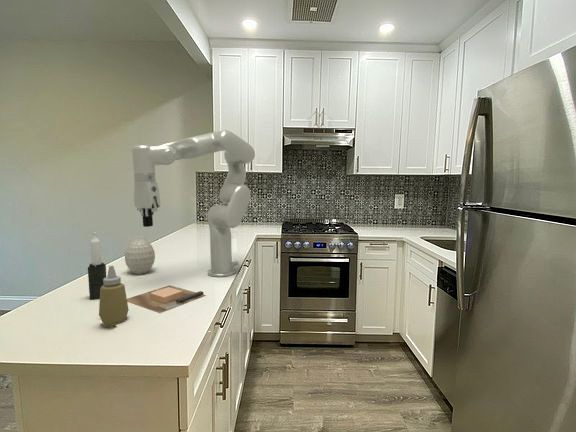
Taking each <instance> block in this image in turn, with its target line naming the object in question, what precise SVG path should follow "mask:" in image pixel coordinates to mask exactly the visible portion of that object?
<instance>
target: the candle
mask: <svg viewBox="0 0 576 432" xmlns="http://www.w3.org/2000/svg"><path fill="white" fill-rule="evenodd" d="M97 236H98V235H97V232H96V231H94V232H93V235H92V239H91V240H90V252H91V254H90V255H91V263H90V264H89V265H88V267H87V277H88V278H87V280H88V291H89V300H91V301H95V300H100V288H101V287H102V286H103V285H104V283H103V279H104V278H106V277H107V266H106V265H107V264H106V263H104V262H102V255H101V253H102V252H101V241H100V239H99V238H98V237H97Z"/></svg>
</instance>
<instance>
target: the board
mask: <svg viewBox="0 0 576 432" xmlns="http://www.w3.org/2000/svg"><path fill="white" fill-rule="evenodd" d="M167 287H170V288H174V289H177V290H181V291H183V297H185V296H188V295H191V294H194V293H196V291H193V290H189V289H184V288H181V287H177V286H174V285H171V284H170V285H167V286H163V287H159V288H157V289H154V290H151V291H147V292H144V293H142V294H138V295H135V296H131V297H129V298H127V303H129V304H132V305H134V306H137V307H141V308H144V309H147V310H149V311H153V312H155V313H157V314H162V313H164V312H167V311H170V310H173V309H175V308H178V307H181V306H183V305H185V304H188V303H190V302H194V301H196V300H198V299H202V298H205V297H207V294H204V293H203V295H201V296H198V297H195V298H193V299H190V300H187V301H185V302H182V303H181V304H182V305H179V306H176V307H174V308H171V309H169V310H166V309H163V308H160V307H159V306H161V305H164V303H161V302H158V301H155V300H152V299H150V293H151V292H154V291H158V290H161V289H164V288H167ZM183 297H181V298H183ZM178 299H180V298H178ZM176 300H177V299H176ZM176 300H173V301H175V302H176ZM173 301H170V302H173ZM170 302H167V303H170ZM167 303H165V304H167Z"/></svg>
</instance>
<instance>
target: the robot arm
mask: <svg viewBox="0 0 576 432" xmlns="http://www.w3.org/2000/svg"><path fill="white" fill-rule="evenodd" d="M222 151H223V152H224V155H223V156H224V157H223V158H224V159H225V162H226V164H227V168H228V171H227V175H226V178H225V180H224V183H222V186H221V188H220V191H219V195H218V196H219V200H220V201H221V202H222V203H224V204H214V205H213V206H211V207H209V209H208V211H207V222H208V227H209V242H210V243H209V246H210V247H209V248H210V269H208V270H207V275H208V276H211V277H216V278H218V277H220V278H222V277H229V276H233V275H234V274H235V273H236V269H235V268H234V267H236V266H238V265H239V262H238V261H234V262H233V260H232V256H233V255H232V251H233V250H232V231H231V229H233V228H237V227H238V226H239V225H240V223H242V220H243V219H244V216H245V214H246V211H247V209H248V208H249V207H248V206H249V204H250V201H251V196H252V195H251V190H250V188H249V187H248V186H247V185H246V184H245V181H246V178H247V171H246V168H245V165H247V164H250V163H252V162H253V161H254V159H255V156H256V153H255V149H254V147H253V146H252V145H251V144H249V143H248V142H246V140H244V139H243V138H241V137H240V136H239V135H237V134H235V133H234V132H232V131H230V130H220V131H213V132H207V133H205V134H199V135H196V136H195V135H194V136H191V137H186V138H183V139H180V140H176V141H173V142H168V143H163V144H159V145H155V146H154V145H153V146H151V145H146V144H145V145H144V144H143V145H141V144H140V145H134V146H133V147H132V149H131V152H132V164H133V165H132V166H133V179H134V180H133V181H134V184H133V202H134V207H136V211H138V212H139V213H140V215H141V217H142V226H143V227H145V228H146V227H147V228H149V227H153V226H154V223H153V222H154V221H153V220H154V219H153V216H154V213H156V212H157V211H158V208H159V209H160V207H161V197H160V190H159V185H158V183H157V181H156V179H157V178H156V168H155V167H156V166H168V165H172V164H173V163H175V161H180V160H187V159H195V158H200V157H203V156H207V155H211V154H215V153H217V152H218V153H219V152H222ZM226 204H227V205H226Z"/></svg>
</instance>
